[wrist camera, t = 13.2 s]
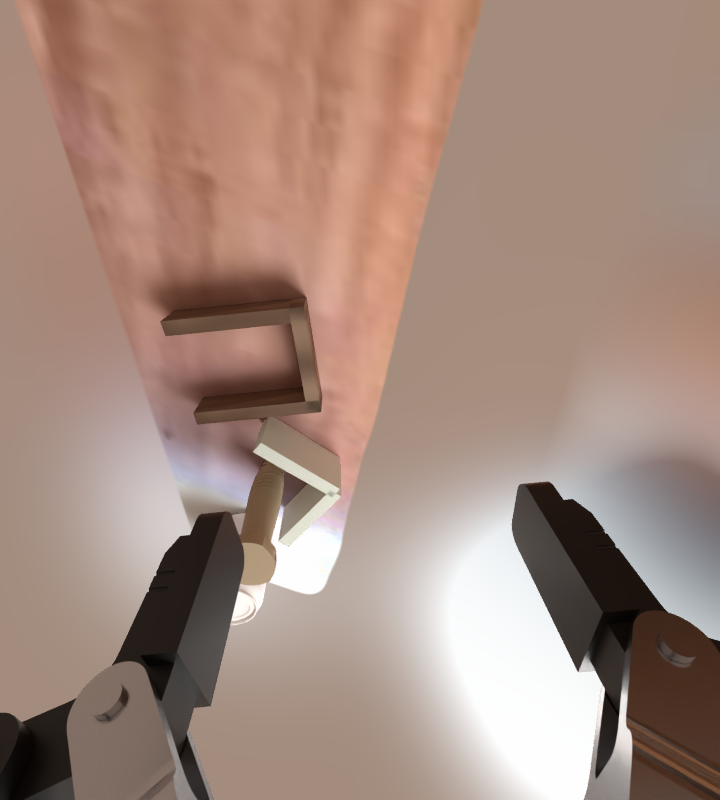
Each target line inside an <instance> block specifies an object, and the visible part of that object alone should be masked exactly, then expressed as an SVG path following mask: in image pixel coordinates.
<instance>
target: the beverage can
mask: <svg viewBox="0 0 720 800" xmlns="http://www.w3.org/2000/svg"><path fill="white" fill-rule="evenodd" d="M232 517H233V520H234V523H235V526H236V529H237V531H238V534H241V531H242V526H243V522H244V517H245V513H240V514H235V515H232ZM274 538H275V531H274V532H273V536H272V539H271V543H272V544H274ZM265 587H266V583H265V584H261V585H243V584H240V587H239V591H238V595H237V599H236V603H235V607H234V611H233V615H232V620H231V624H230V625H237V624H242V623H245V622H247V621H249V620H251V619H252V618H253V617H254V616H255V614H256V612H257V610H258V609H259V608H260V606H261V604H262V602H263V598H264V592H265Z"/></svg>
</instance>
